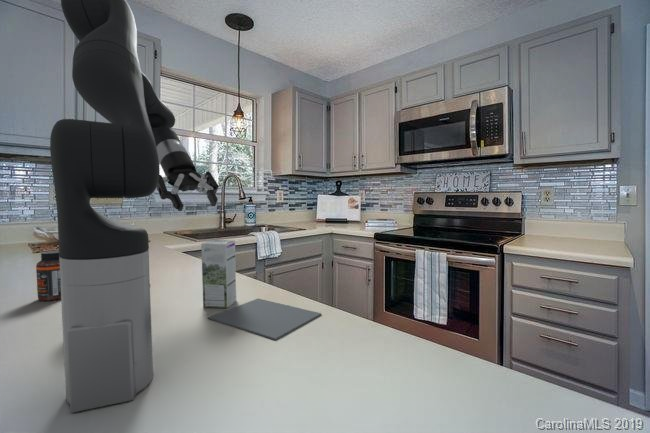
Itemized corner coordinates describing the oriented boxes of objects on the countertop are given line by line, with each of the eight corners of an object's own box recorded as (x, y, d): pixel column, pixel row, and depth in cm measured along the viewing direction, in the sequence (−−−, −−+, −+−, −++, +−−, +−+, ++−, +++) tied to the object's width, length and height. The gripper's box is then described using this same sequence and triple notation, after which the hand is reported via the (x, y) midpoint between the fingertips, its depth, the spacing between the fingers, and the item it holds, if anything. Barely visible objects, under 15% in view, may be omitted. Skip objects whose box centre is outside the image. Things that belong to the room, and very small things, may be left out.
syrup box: (237, 300, 75) (236, 239, 74) (227, 309, 69) (225, 242, 68) (213, 299, 76) (212, 239, 75) (202, 308, 70) (200, 242, 69)
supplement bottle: (31, 300, 75) (28, 253, 74) (58, 293, 81) (56, 249, 80) (49, 303, 73) (46, 254, 73) (76, 295, 79) (73, 250, 78)
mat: (207, 318, 64) (207, 316, 64) (258, 299, 75) (258, 298, 75) (275, 340, 54) (275, 338, 54) (321, 314, 66) (321, 313, 66)
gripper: (147, 150, 78) (171, 200, 72) (204, 149, 88) (229, 193, 82) (144, 172, 82) (166, 220, 77) (198, 168, 92) (221, 211, 86)
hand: (198, 206), depth 79 cm, fingers open, 8 cm apart
